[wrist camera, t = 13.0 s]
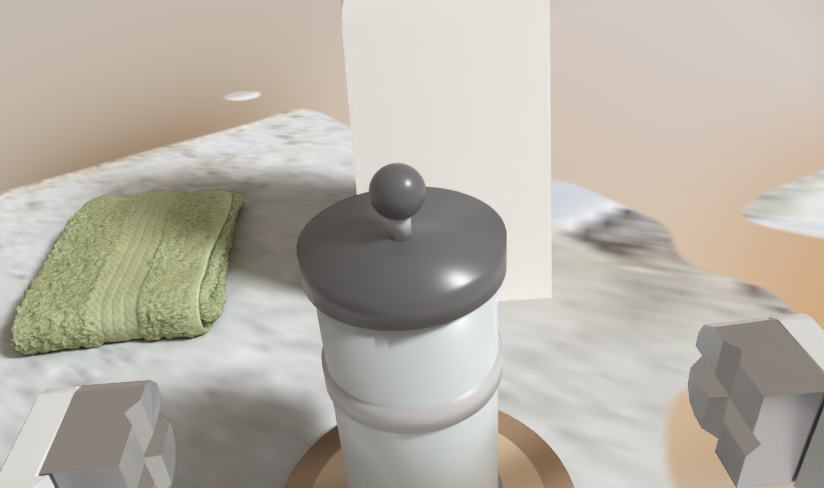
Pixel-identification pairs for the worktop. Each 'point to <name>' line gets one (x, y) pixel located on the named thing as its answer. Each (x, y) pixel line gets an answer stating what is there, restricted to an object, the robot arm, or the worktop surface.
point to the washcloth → (131, 272)
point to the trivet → (517, 461)
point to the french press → (410, 330)
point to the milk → (460, 111)
